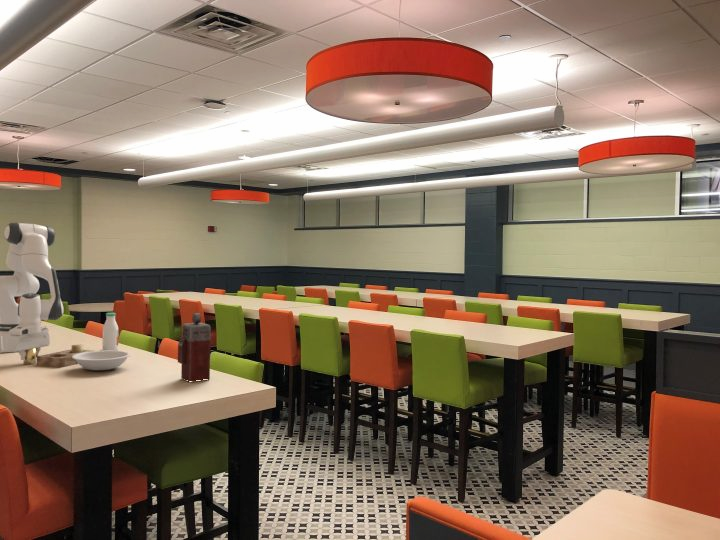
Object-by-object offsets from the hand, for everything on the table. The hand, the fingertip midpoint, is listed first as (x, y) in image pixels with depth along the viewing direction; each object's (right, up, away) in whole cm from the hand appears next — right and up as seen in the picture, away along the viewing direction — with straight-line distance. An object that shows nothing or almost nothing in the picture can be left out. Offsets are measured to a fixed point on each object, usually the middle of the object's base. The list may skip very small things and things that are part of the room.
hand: (29, 358), depth 260 cm
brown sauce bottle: (+83, -5, -24) cm, 86 cm away
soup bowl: (+37, -4, -8) cm, 38 cm away
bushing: (0, -2, 0) cm, 2 cm away
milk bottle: (+19, -2, +40) cm, 45 cm away
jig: (+14, -3, +6) cm, 16 cm away
